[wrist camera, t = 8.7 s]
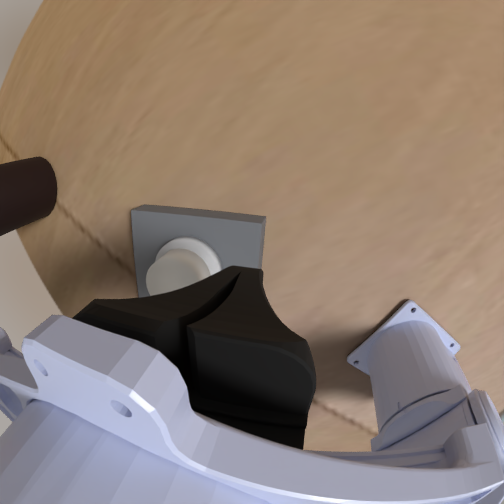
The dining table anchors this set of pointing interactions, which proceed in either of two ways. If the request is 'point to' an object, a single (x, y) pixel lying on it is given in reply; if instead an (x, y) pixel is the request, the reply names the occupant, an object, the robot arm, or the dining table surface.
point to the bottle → (25, 192)
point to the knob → (175, 271)
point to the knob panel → (195, 238)
